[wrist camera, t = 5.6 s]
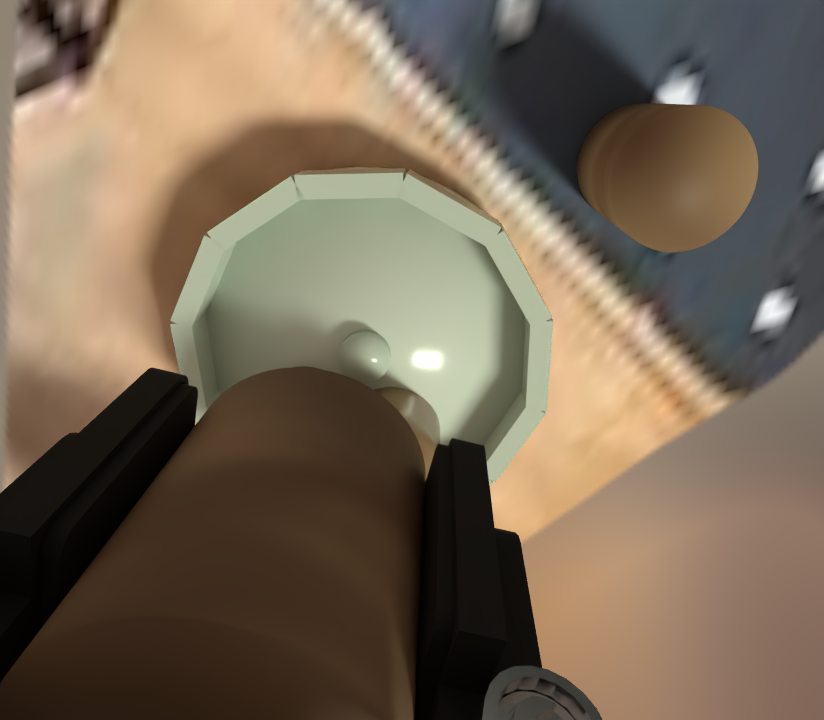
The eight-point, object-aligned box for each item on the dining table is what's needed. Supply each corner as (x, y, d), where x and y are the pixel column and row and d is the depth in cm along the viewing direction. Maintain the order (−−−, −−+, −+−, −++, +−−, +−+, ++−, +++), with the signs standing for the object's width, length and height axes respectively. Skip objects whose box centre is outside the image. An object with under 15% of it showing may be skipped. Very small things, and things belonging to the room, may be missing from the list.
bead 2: (664, 79, 21) (727, 74, 16) (708, 183, 22) (778, 206, 17) (557, 144, 22) (587, 156, 17) (604, 240, 23) (645, 276, 18)
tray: (427, 87, 21) (420, 83, 15) (598, 399, 25) (641, 483, 20) (129, 286, 24) (37, 341, 19) (325, 530, 29) (297, 632, 23)
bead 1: (452, 400, 10) (461, 673, 5) (396, 586, 11) (364, 923, 7) (204, 341, 9) (-23, 571, 5) (182, 539, 11) (-3, 852, 6)
